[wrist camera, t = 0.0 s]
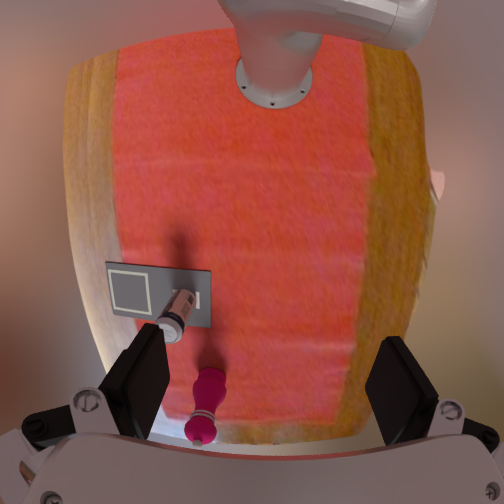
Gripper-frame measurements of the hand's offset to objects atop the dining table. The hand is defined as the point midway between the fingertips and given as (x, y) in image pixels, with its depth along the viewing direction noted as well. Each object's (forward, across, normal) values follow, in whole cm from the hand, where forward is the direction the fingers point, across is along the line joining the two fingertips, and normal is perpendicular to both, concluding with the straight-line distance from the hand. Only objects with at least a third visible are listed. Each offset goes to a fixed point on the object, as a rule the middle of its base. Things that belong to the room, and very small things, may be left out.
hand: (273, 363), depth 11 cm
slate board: (+37, +20, +17) cm, 45 cm away
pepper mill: (+37, +9, +37) cm, 53 cm away
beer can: (+37, +14, +17) cm, 43 cm away
